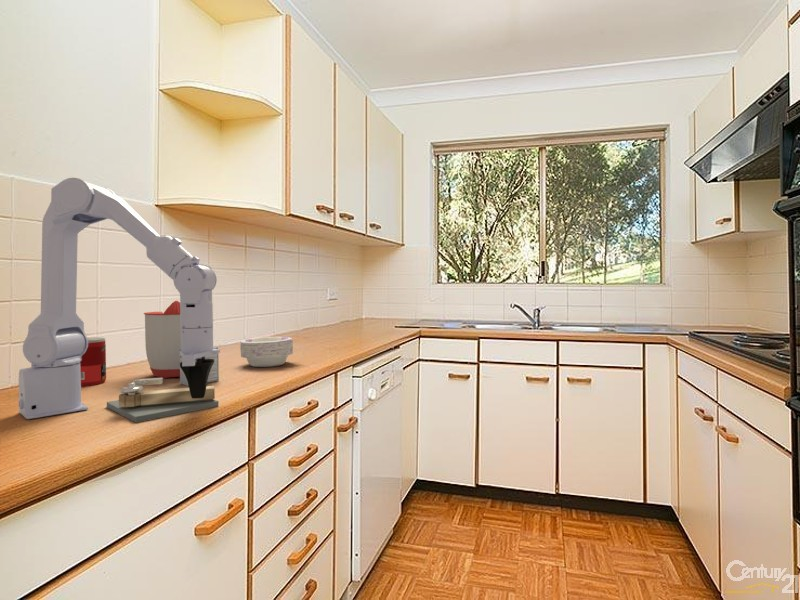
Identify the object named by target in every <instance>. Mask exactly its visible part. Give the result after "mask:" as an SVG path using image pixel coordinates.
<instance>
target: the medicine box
mask: <svg viewBox="0 0 800 600" xmlns="http://www.w3.org/2000/svg"><path fill="white" fill-rule="evenodd" d="M213 349H220V348H219V347H217V346H214V345H213ZM180 351H181V349H180ZM219 358H220V356H219V353H218V354H212V355H208V356H205V359H214V364H213V365H212V368H211V370H210V373H209V376H208V380H207V384H208V383H212V382H218V381H219V380H220V375H219V374H220V371H219V368H220V365H219V362H220V361H219ZM180 362H182V357H181V356H180ZM179 378H180V379H179V382H180V384H181V385H183V386H187V387H189V385H188V382H187V379H186V376H185V374H184V372H183V371H182V369H181V368H180V376H179Z"/></svg>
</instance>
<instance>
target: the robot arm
mask: <svg viewBox="0 0 800 600" xmlns="http://www.w3.org/2000/svg"><path fill="white" fill-rule="evenodd" d="M50 189H51V192H50V195H51V197H50V198H51V199H50V203H49V205H48V207H47V209H46V211H45V213H44V215H43V218H42V224H41V225H42V226H41V228H42V229H41V230H42V231H41V238H42V239H41V269H40V270H41V271H40V272H41V273H40V275H41V276H40V277H41V279H40V313H39V314H38V316H37V317H35V319H34V320H32V321H31V323H29V324H28V331H27V335H26V337H25V339H24V341H23V344H22V353H23V356H24V357H25V359H26V361H28V362H29V363H30V364H31V365H30V366H31V367H24V368H20V370H19V372H18V408H19V409H18V412H19V414H20V415H22V416H23V417H24V418H25V419H26V420H33V419H37V418H43V417H44V418H45V417H50V416H56V415H62V414H67V413H74V412H80V411H86V410H88V409H89V406H88V405H86V404H84V403H83V402H82V386H81V371H80V361H82V358H81V356H82V355H83V354H84V353H85V352H86V350H87V348H88V338H89V337H88V336H87V334H86V331H85V323H84V321H83V320H82V318H80V317H79V315H78V314H77V291H78V290H77V281H78V278H77V277H78V242H79V241H78V237H79V236H78V235H79V233H81V231H83V230H85V229H86V228H88V226H91V225H93V224H97V223H99V222H102V221H105V220H111V221H113V222H114V223H115V224H117V225H118V226H120V227H121V228H122V230H124V231H125V232H127V233H128V234H129V235H131V236H132V237H133V238H134V239H135V240H136V241H138V242H139V243H140V244H142V245H143V246H144V247H145V248H146V249H145V250H146V258H148V259H149V260H150V261H151V262H152V263H153V264H154V265H156V266H157V267H158V268H159V269H160V270H161V271H162V272H163V273H165V274H166V275H167V276H168V277H169V278H170V279H171V280H172V281H173V286H174V287H175V289H176V290H177V292H178V293H179V298H180V299H179V302H180V324H181V351H180V356H181V357H182V362H180V368H181V369H182V371H183V372H184V374H185V376H186V379H187V382H188V385H189V386H188V388H189V390H190V393H191V397H192V398H204V395H205V391H206V386H207V385H208V383H207V380H208V376H209V373H210V370H211V368H212V365H213V364H214V359H205V356H208V355H212V354H218V353H221V352H220V351H221V349H220V348H219V349H213V346H214V312H213V311H214V309H213V307H214V306H213V290H214V289H215V287H216V285H217V282H218V281H217V275H216V273H215V271H214V270H213V269H212V268H211V266H209V265H207V264H201V263H200V261H201V259H200V258H199V257H198V256H195V255H194V256H193V255H192V254H191V253H190V252H189V251H188V250H186V249H185V248H184V247H183V246H182V241H181V240H180V239H179V238H178V237H171V236H170V235H160V234H159V233H158V232H156V230H155V229H154V228H153V227H152V226H150V225H149V224H148V222H147V221H146V220H144V219H143V218H142V217H141V215H139V214H138V213H137V212H136V211H135V210H134V209H133V208H132V207H131V206H130V205H129V204H128V203H127V202H126V201H125V199H123V198H122V197H120V196H119V195H116V193H115V192H114V191H113V190H111V189H110V188H107V187H103V186H102V187H101V186H98V185H96V184H93V183H90V182H87V181H85V180H83V179H81V178H77V177H67V178H65V179H63V180H62V181H60V182H59V183H58V184H56V185H55V186H53V187H51V188H50Z"/></svg>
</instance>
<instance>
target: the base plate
mask: <svg viewBox="0 0 800 600" xmlns="http://www.w3.org/2000/svg"><path fill="white" fill-rule="evenodd" d="M215 407H217V408H218V407H219V400H216V399H208V400H196V401H184V402H173V403H161V404H150V405H139V406H136V407H133V408H128V407H120V406H119V399H117V400H116V399H115V400H112V401H106V408H108V409H110V410H111V411H113V412H115V413H117V414H118V415H121V416H122V417H125V418H126V419H128V420H129V421H132V422H134V423H140V422H145V421H150V420H155V419H160V418H165V417H166V418H167V417H169V416H170V417H171V416H175V415H181V414H185V413H190V412H195V411H200V410H205V409H210V408H215Z"/></svg>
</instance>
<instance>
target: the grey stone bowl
mask: <svg viewBox="0 0 800 600" xmlns="http://www.w3.org/2000/svg"><path fill="white" fill-rule="evenodd" d="M293 341H294V340H293V338H292V337H289V336H264V337H263V336H262V337H253V338H247V339H242V340H240V344H239V345H240V347H239V348H240V357H241V358H244V359H246V361H247V363H248V365H250V366H251V367H254V368H272V367H278V366H282V365H284V364H285V363H286V361H287V358H288V356H290V355H293V353H294V351H293V350H294V346H293V344H294V343H293Z"/></svg>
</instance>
